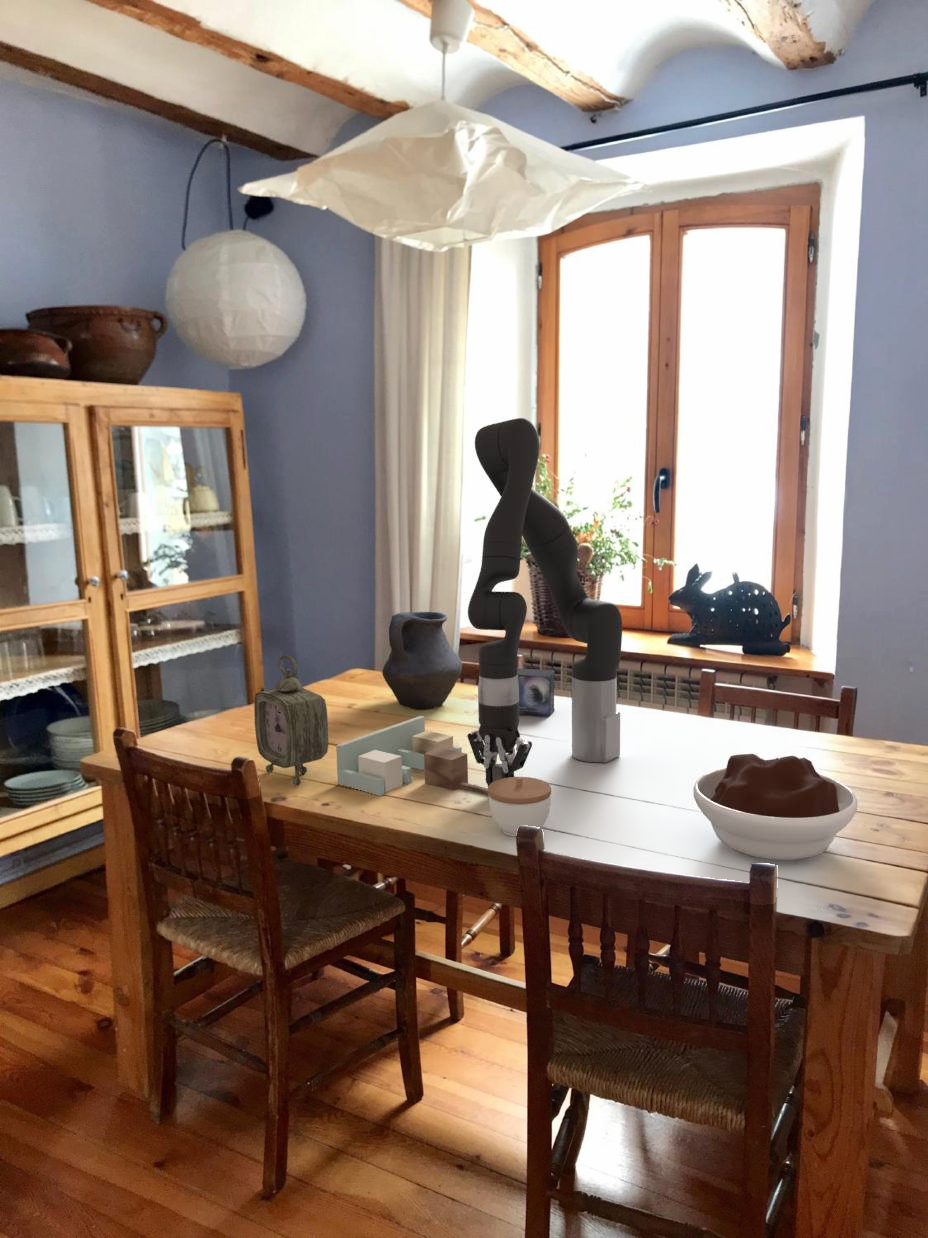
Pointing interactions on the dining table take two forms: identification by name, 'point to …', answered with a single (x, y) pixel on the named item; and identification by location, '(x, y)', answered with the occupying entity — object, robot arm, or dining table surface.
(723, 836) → the bowl of brown mass
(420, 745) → the oak block
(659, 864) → the dining table surface
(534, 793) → the lidded jar
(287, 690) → the tabletop clock
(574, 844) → the dining table surface
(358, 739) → the lane shelf
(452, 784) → the tow block
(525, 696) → the small box
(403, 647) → the pitcher
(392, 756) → the cream block
